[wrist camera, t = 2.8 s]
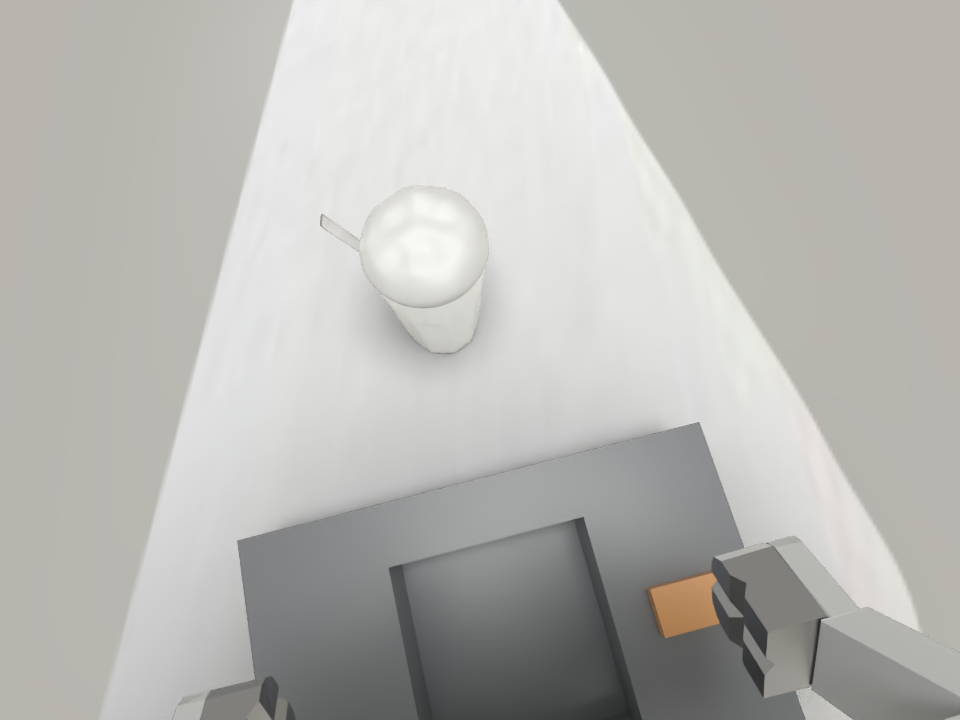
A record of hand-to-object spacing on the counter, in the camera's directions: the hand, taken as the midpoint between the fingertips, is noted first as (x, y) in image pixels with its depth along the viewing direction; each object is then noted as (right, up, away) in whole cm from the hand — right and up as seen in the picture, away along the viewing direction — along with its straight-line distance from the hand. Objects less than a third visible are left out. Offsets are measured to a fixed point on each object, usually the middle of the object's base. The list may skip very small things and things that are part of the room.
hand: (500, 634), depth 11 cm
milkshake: (-2, +7, +18) cm, 19 cm away
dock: (+1, -6, +14) cm, 15 cm away
